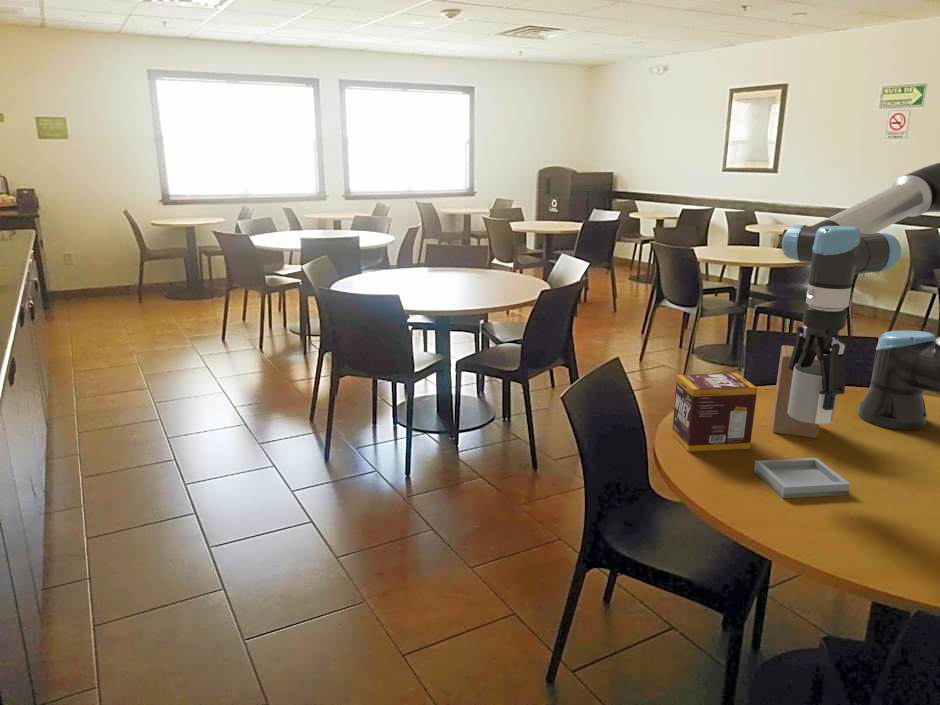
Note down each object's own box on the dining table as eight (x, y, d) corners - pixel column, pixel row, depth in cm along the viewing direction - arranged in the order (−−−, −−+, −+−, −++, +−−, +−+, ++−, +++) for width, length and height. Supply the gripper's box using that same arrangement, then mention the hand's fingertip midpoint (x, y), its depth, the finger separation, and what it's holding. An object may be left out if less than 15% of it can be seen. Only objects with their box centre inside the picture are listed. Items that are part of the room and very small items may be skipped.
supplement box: (670, 433, 170) (675, 374, 165) (731, 431, 171) (737, 371, 166) (686, 452, 160) (692, 389, 155) (750, 449, 161) (758, 386, 157)
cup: (837, 425, 136) (845, 377, 133) (793, 422, 138) (800, 375, 135) (825, 409, 144) (833, 364, 141) (783, 406, 146) (790, 361, 143)
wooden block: (772, 433, 170) (782, 355, 164) (771, 418, 179) (781, 344, 173) (817, 439, 166) (829, 360, 160) (814, 423, 175) (826, 348, 169)
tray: (814, 467, 152) (816, 457, 151) (848, 494, 140) (850, 483, 140) (753, 471, 151) (755, 460, 150) (782, 498, 139) (784, 487, 139)
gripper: (779, 295, 144) (766, 396, 151) (840, 321, 124) (821, 436, 131) (813, 294, 145) (798, 395, 151) (880, 319, 125) (859, 434, 131)
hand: (809, 414), depth 141 cm, fingers closed on cup, 8 cm apart
